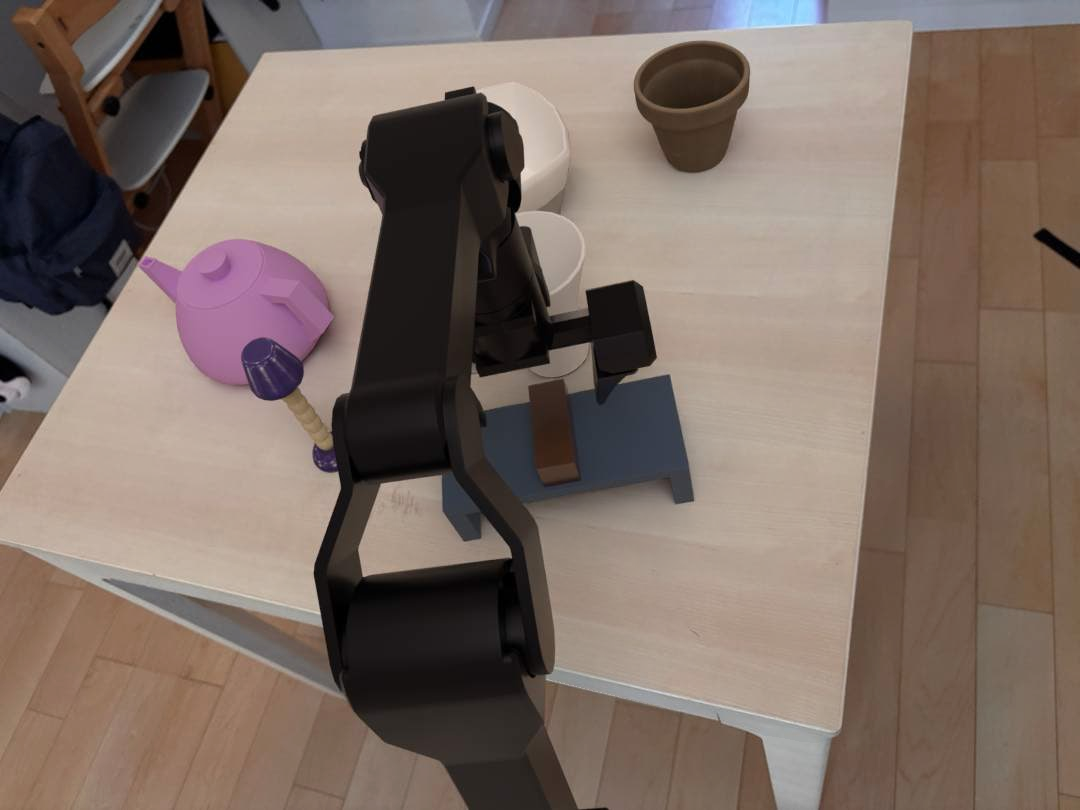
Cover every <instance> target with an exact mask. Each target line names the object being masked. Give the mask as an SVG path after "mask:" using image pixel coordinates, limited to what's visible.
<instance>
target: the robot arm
mask: <svg viewBox="0 0 1080 810" xmlns="http://www.w3.org/2000/svg"><path fill="white" fill-rule="evenodd" d="M371 117H372V118H371V119H370V121H369V123H368V125H367V130H366V139H364V140H363V141H361V145H360V146H361V147H360V150H359V151H358V155H359V156H358V157H359V159H360V162H359V164H358V176H359V179H360V182H361V183H362V185H363V187H365V188H366V189H367V190H368V192H369V194H370V197H371V200H372V201H373V202H374V203H375V204H377V206H378V209H379V210H380V211H379V212H380V213H381V222H380V227H379V233H378V237H377V243H376V249H375V255H374V259H373V265H372V271H371V277H370V282H369V288H368V292H367V299H366V303H365V309H364V315H363V321H362V326H361V332H360V337H359V342H358V346H357V347H358V348H357V353H356V359H355V365H354V370H353V375H352V380H351V387H350V389H349V392H345V393H341V394H340V395H338V397H336V399H335V402H334V404H333V407H332V411H331V412H332V413H331V424H330V425H331V431H332V437H333V445H334V451H335V457H336V462H337V468H338V471H337V473H338V479H339V484H340V485H339V486H340V488H339V489H340V490H339V492H338V495H337V499H336V501H335V504H334V506H333V510H332V512H331V515H330V518H329V521H328V524H327V527H326V530H325V533H324V536H323V538H322V541H321V544H320V547H319V549H318V553H317V556H316V559H315V561H314V563H313V579H314V585H315V590H316V596H317V601H318V607H319V612H320V618H321V623H322V629H323V635H324V640H325V647H326V651H327V658H328V662H329V668H330V671H331V675H332V678H333V681H334V683H335V685H336V686H337V688H338V690H339V692H341V693H342V694H343V695H344V698H345V700H346V702H347V704H348V707H349V708H350V709H351V711H352V712H353V713H354V714H355V715H356V716H357V717H358V718H359V719H360V720H361V722H363V723H364V724H365V725H366V727H368V728H369V729H370V730H371V731H372V732H373V733H374V734H375V735H376V736H377V737H378V738H379V739H380V740H381V741H382V742H384V744H387V745H390V746H394V747H397V748H398V749H403V750H406V751H408V752H410V753H411V752H412V753H414V754H418V755H421V756H423V757H426V758H430V759H433V760H436V761H438V762H440V764H441V766H442V767H443V770H444V771H445V772H446V774H447V776H448V778H449V779H450V781H451V783H452V785H453V787H454V788H455V790H456V791H457V793H458V795H459V797H460V798H461V800H462V802H463V804H464V806H465V807H466V810H610V809H609V808H608V807H606V806H605V807H602V806H601V807H590V808H579V807H578V804H577V802H576V800H575V797H574V794H573V793H572V790H571V787H570V784H569V782H568V780H567V777H566V775H565V772H564V770H563V768H562V765H561V762H560V760H559V758H558V755H557V753H556V751H555V748H554V746H553V743H552V740H551V738H550V736H549V733H548V730H547V728H546V725H545V724H546V721H545V720H546V689H547V688H546V687H547V685H546V684H547V676H549V675H551V674H552V673H553V672H554V669H555V663H556V635H555V633H556V632H555V624H554V617H553V616H554V615H553V609H552V604H551V598H550V591H549V585H548V578H547V573H546V566H545V561H544V555H543V548H542V542H541V535H540V530H539V526H538V524H537V521H536V519H535V518H534V516H533V515H532V514H531V512H530V511H529V510H528V509H527V507H526V506H525V504H522V502H521V501H520V500H519V499H518V497H517V496H516V495H515V494H514V492H513V491H512V490H511V489H510V487H509V486H508V485H507V484H506V482H505V481H504V480H503V479H502V477H501V476H500V475H499V474H498V472H497V471H496V470H495V469H494V467H493V466H492V465H491V464H490V462H489V461H488V460H487V459H486V457H485V453H484V447H483V441H482V435H481V429H480V427H481V428H483V427H486V426H487V422H486V415H485V412H484V407H483V405H482V403H481V400H479V398H478V396H477V395H476V393H475V391H474V389H473V388H472V387H471V386H472V376H474V375H478V377H479V378H481V379H482V378H487V377H491V376H495V375H496V376H497V375H501V374H506V373H511V372H517V371H520V370H521V371H522V370H525V369H529V368H531V367H536V366H541V365H546V364H550V357H549V351H550V350H555V349H560V348H565V347H570V346H574V345H579V344H584V343H589V344H590V351H591V364H592V378H593V386H594V389H595V394H596V400H597V403H598V405H603V404H604V403H605V401H606V400H607V398H608V396H609V395H610V393H611V392H612V390H613V389H614V388H615V387H616V386H617V385H618V384H621V382H622V381H623V380H624V379H625V378H626V377H628V376H633V375H635V374H636V373H638V371H639V369H643V368H647V367H651V366H652V365H653V363H654V362H655V361H656V360H657V359H658V356H657V355H658V354H657V350H656V344H655V339H654V333H653V328H652V323H651V318H650V313H649V308H648V304H647V299H646V293H645V289H644V288H645V287H644V286H643V285H642V284H640V283H639V282H637V281H636V280H634V279H630V280H626V281H621V282H616V283H612V284H607V285H603V286H596V287H593V288H588V289H585V292H584V293H585V298H586V304H587V306H586V307H585V308H580V309H579V310H576V311H571V312H566V313H561V314H557V315H552V316H549V314H548V311H547V308H546V307H550V306H551V304H550V295H549V291H548V288H547V285H546V282H545V279H544V275H543V271H542V268H541V266H540V262H539V258H538V254H537V251H536V247H535V243H534V239H533V235H532V231H531V229H530V228H529V227H527V226H519V224H518V221H517V218H516V215H515V213H517V211H518V210H519V208H520V204H521V200H522V193H521V172H522V171H523V169H524V167H525V165H524V145H523V140H522V136H521V135H520V133H519V127H518V124H517V121H516V120H515V119H514V118H513V117H512V116H511V115H510V113H508V112H507V111H506V110H505V109H503V108H502V107H500V106H498V105H496V104H494V103H491V102H487V98H486V96H485V95H484V94H483V93H476V88H475V86H469V87H468V86H467V87H463V88H459V89H454V90H450V91H445V92H444V100H439V101H435V102H434V101H433V102H430V103H425V104H420V105H416V106H411V107H407V108H401V109H397V110H392V111H387V112H383V113H379V114H374V115H372V116H371ZM452 473H453V474H454V477H455V479H456V481H457V482H458V483H459V484H460V486H461V487H462V488H463V489H464V491H465V492H466V493H467V494H468V496H469V497H470V498H471V499H472V501H473V502H474V503H475V505H476V506H477V507H478V508H479V510H480V513H481V514H483V516H484V518H486V520H487V521H488V522H489V523H490V525H491V526H492V528H493V529H494V530H495V531H496V532H497V534H498V535H499V536H500V537H501V539H502V540H503V542H505V544H506V545H507V546H508V548H509V550H510V555H511V557H503V558H502V557H501V558H494V559H488V560H478V561H471V562H462V563H455V564H447V565H446V564H445V565H438V566H430V567H429V566H428V567H421V568H414V569H407V570H406V569H405V570H398V571H390V572H381V573H374V574H369V575H365V576H364V574H363V570H362V569H363V568H362V562H361V558H360V557H361V556H360V552H359V547H360V545H361V541H362V539H363V536H364V534H365V530H366V529H367V528H366V527H367V525H368V522H369V519H370V517H371V514H372V511H373V508H374V505H375V503H376V501H377V500H376V499H377V497H378V494H379V491H380V488H381V486H382V484H387V483H388V484H389V483H395V482H402V481H408V480H409V481H410V480H415V479H416V480H417V479H424V478H431V477H438V476H442V475H445V474H452Z"/></svg>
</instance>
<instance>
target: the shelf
mask: <svg viewBox="0 0 1080 810" xmlns="http://www.w3.org/2000/svg"><path fill="white" fill-rule="evenodd" d="M569 396H570V399H571V406H572V414H573V422H574V429H575V437H576V445H577V452H578V460H579V468H580V475H581V481H576V482H571V483H565V484H560V485H554V486H549V487H544V485H543V483H542V481H541V479H540V476H539V474H538V472H537V470H536V461H535V451H534V441H533V431H532V420H531V410H530V401H525V402H521V403H515V404H509V405H505V406H501V407H495V408H490V409H485V410H484V409H483V410H484V412H485V415H486V422H487V426H486V427H483V428H481V427H480V429H481V435H482V441H483V447H484V453H485V457H486V459H487V460H488V461H489V462H490V464H491V465H492V466H493V467H494V469H495V470H496V471H497V472H498V474H499V475H500V476H501V477H502V479H503V480H504V481H505V482H506V484H507V485H508V486H509V487H510V489H511V490H512V491H513V492H514V494H515V495H516V496H517V497H518V499H519V500H520V501H521V502H522V504H523V505H525V504H531V503H535V502H541V501H547V500H552V499H557V498H563V497H569V496H574V495H580V494H585V493H586V494H587V493H591V492H596V491H601V490H602V491H603V490H607V489H608V490H609V489H613V488H619V487H623V486H628V485H629V486H630V485H635V484H640V483H646V482H651V481H658V480H662V479H668V478H670V484H671V488H672V493H673V499H674V503H675V505H680V504H685V503H690V502H695V494H694V489H693V481H692V474H691V469H690V464H689V460H688V454H687V450H686V444H685V440H684V436H683V430H682V426H681V421H680V417H679V412H678V406H677V402H676V398H675V397H676V396H675V393H674V388H673V382H672V379H671V374H670V373H668V374H663V375H657V376H653V377H647V378H642V379H638V380H633V381H626V382H622V383H619V384H618V385H617V386H616V387H615V388H614V389H613V390H612V392H611V393H610V395H609V396H608V398H607V400H606V401H605V403H604V404H603V405H598V403H597V400H596V394H595V388H592V389H588V390H581V391H578V392H571V393H569ZM441 504H442V505H441V507H442V509H441V510H442V513H443V514H444V515H445V517H446V518H447V520H448V521H449V522H450V524H451V526H452V527H453V529H454V530H455V531H456V532H457V534H458V535H459V537H460V538H461V540H462V541H463V542H469V541H474V540H481V539H482V528H481V511H480V510H479V508H478V507H477V506H476V505H475V503H474V502H473V501H472V499H471V498H470V497H469V496H468V494H467V493H466V492H465V491H464V489H463V488H462V487H461V486H460V484H459V483H458V482H457V481H456V479H455V477H454V474H453V473H452V474H445V475H441Z"/></svg>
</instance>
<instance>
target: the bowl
mask: <svg viewBox="0 0 1080 810" xmlns="http://www.w3.org/2000/svg"><path fill="white" fill-rule="evenodd" d="M475 90H476V89H475ZM476 93H483V94H484V95H485V96H486V98H487V102H491V103H494V104H496V105H498V106H500V107H502V108H503V109H505V110H506V111H507V112H508V113H510V115H511V116H512V117H513V118H514V119H515V120H516V121H517V124H518V127H519V133H520V135H521V136H522V140H523V145H524V165H525V167H524V169H523V171H522V172H521V193H522V200H521V204H520V208H519V210H518V211H517V213H515V214H518V213H521V212H529V211H545V212H552V213H555V214H558V215H561V210H562V205H563V199H564V193H565V188H566V185H567V181H568V180H567V179H568V174H569V168H570V162H571V157H572V148H571V140H570V131H569V129H568V127H567V125H566V123H565V121H564V119H563V117H562V115H561V113H560V111H559V109H558V108H557V107H556V106H555V105H554V104H552V103H551V102H550V101H549V100H548V99H547V98H545V97H544V96H543V95H542V94H540V93H539V92H538V91H537V90H535V89H532V88H530V87H527V86H526V85H524V84H522V83H519V82H517V81H508V82H503V83H500V84H495V85H489V86H485V87H482V88H479V89H477V90H476Z"/></svg>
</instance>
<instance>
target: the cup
mask: <svg viewBox="0 0 1080 810" xmlns="http://www.w3.org/2000/svg"><path fill="white" fill-rule="evenodd" d="M515 215H516V218H517V221H518V224H519V226H527V227H529V228H530V229H531V231H532V235H533V239H534V243H535V247H536V251H537V254H538V258H539V262H540V266H541V268H542V271H543V275H544V279H545V282H546V285H547V288H548V291H549V295H550V304H551V306H550V307H546V308H547V311H548V314H549V316H552V315H557V314H561V313H566V312H571V311H576V310H580V308H579V292H580V287H581V286H580V285H581V279H582V273H583V269H584V268H583V267H584V262H585V257H586V241H585V239H584V235H583V233H582V231H581V230H580V229H579V227H578V226H577V224H576V223H574V222H573V221H571V220H570V219H568V217H566V216H563V215H561V214H559V215H558V214H555V213H552V212H545V211H529V212H521V213H518V214H515ZM589 352H590V342H589V343H584V344H579V345H574V346H570V347H565V348H560V349H555V350H550V351H549V357H550V364H546V365H541V366H536V367H531V368H528V370H530V371H531V372H532V373H534V374H536V375H538V376H540V377H545V378H558V377H562V376H566V375H568V374H570V373H572V372H574V371H576V370H577V369H578V368H579V367H580V366H581V365H582V364H583V363H584V362H585V360H586V359H587V357H588V354H589Z"/></svg>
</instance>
